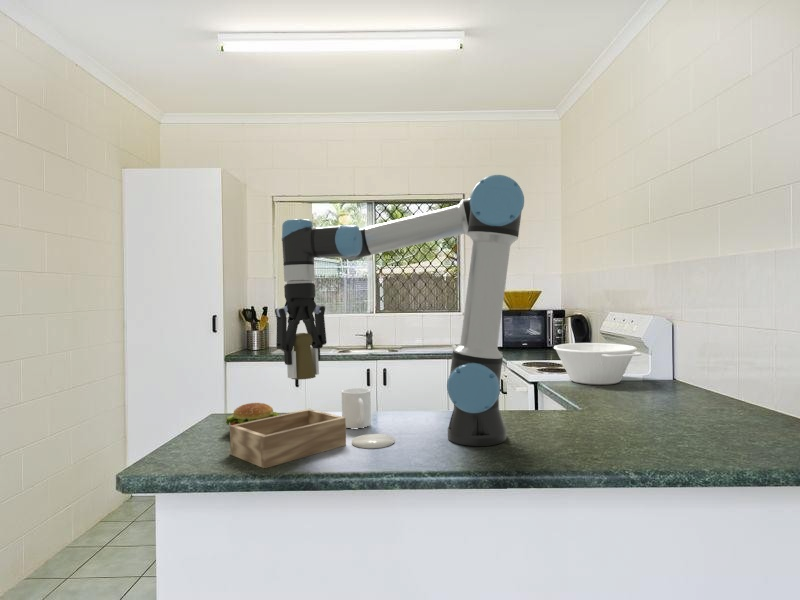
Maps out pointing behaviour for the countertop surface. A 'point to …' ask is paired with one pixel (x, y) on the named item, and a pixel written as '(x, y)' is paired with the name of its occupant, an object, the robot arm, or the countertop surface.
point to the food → (250, 413)
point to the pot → (595, 361)
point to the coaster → (373, 441)
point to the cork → (304, 356)
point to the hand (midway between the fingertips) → (303, 375)
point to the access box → (287, 437)
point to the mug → (356, 407)
